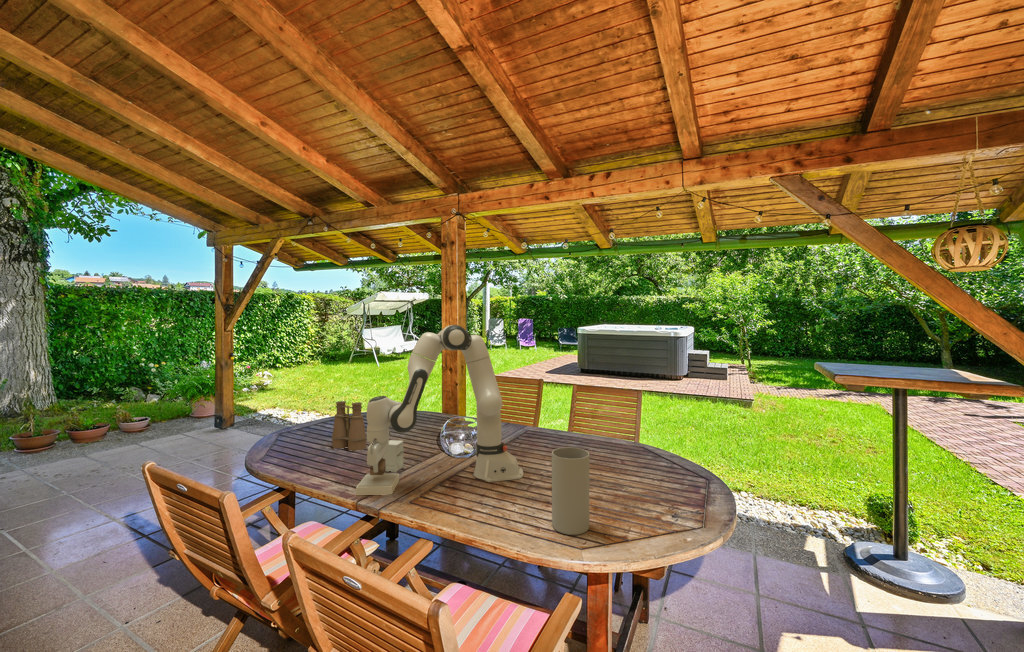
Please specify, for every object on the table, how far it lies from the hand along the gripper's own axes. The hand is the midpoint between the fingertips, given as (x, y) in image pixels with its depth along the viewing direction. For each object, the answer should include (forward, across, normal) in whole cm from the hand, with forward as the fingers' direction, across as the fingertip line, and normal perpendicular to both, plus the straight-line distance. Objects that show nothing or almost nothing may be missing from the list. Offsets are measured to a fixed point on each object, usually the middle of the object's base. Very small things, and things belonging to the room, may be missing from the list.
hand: (378, 469), depth 174 cm
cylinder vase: (+8, -37, -73) cm, 82 cm away
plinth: (+8, 0, 0) cm, 8 cm away
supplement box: (+8, +23, -1) cm, 25 cm away
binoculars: (+8, +57, +30) cm, 65 cm away
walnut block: (+2, 0, 0) cm, 2 cm away
